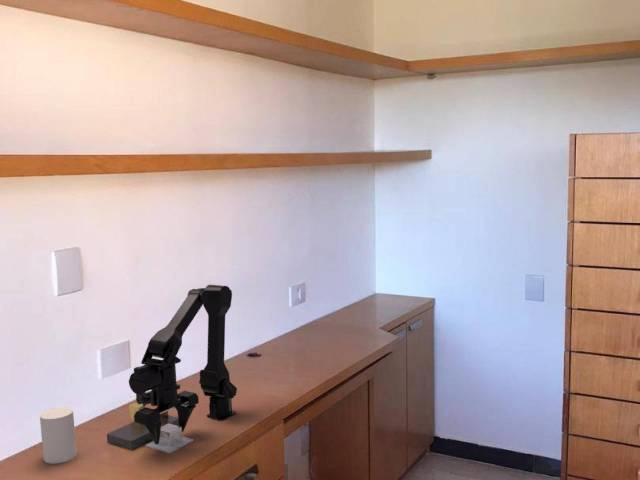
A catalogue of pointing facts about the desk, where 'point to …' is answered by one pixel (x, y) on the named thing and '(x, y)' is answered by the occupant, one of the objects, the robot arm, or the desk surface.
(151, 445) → the felt mat
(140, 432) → the dark grey base plate
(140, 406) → the block
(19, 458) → the desk surface
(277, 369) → the desk surface
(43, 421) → the cup
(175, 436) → the light grey block
